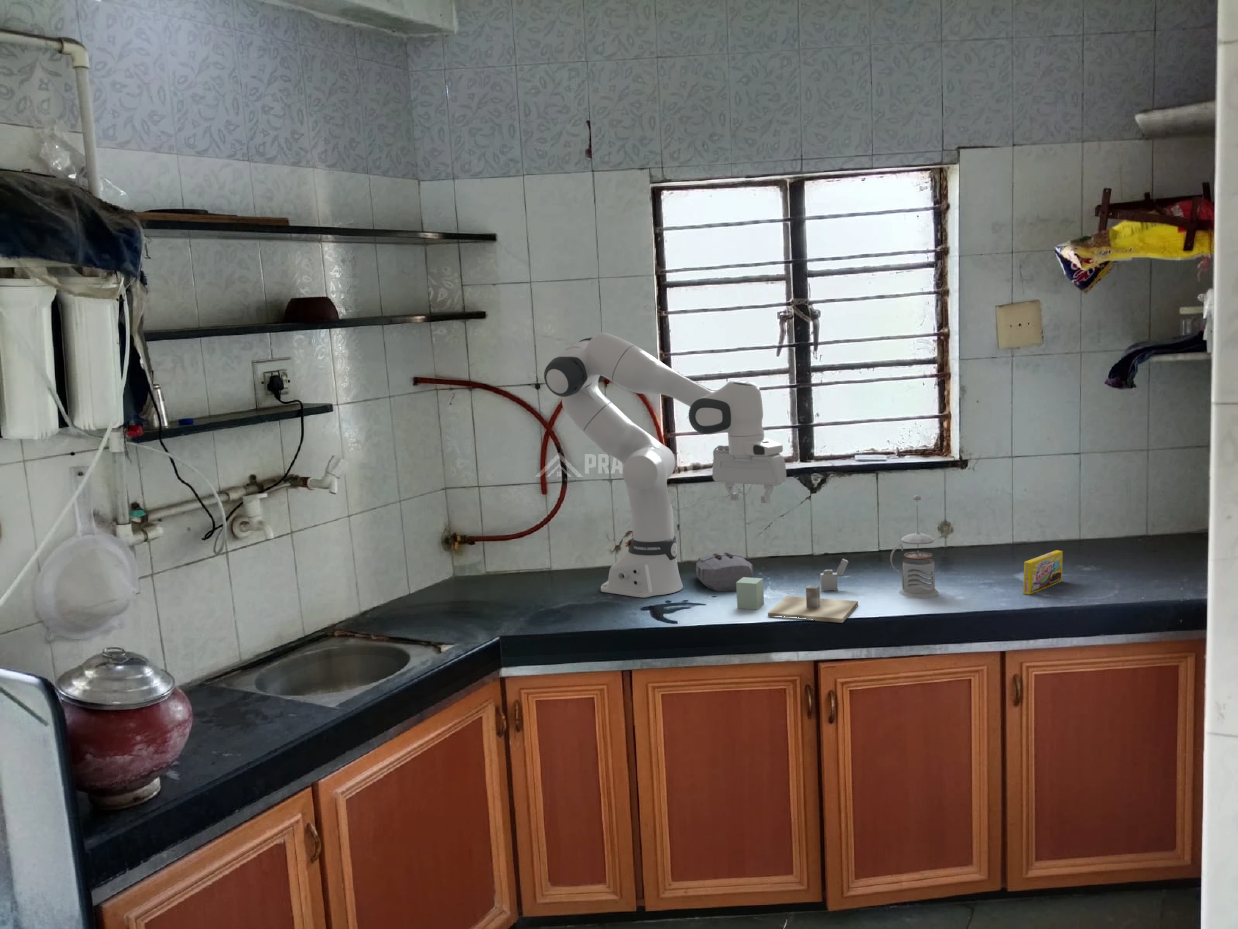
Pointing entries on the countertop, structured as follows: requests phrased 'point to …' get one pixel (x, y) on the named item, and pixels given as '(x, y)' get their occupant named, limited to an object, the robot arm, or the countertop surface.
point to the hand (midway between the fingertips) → (749, 501)
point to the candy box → (1042, 572)
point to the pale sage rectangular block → (750, 593)
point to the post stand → (814, 607)
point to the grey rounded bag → (722, 570)
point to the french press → (917, 567)
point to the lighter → (832, 577)
